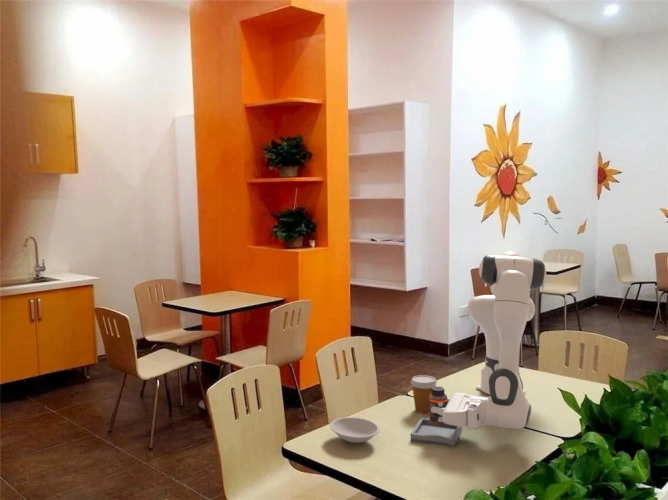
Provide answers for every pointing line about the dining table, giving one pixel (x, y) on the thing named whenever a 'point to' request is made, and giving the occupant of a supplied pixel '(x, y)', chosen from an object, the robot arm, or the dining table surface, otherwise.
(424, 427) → the tray
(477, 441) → the dining table surface
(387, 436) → the dining table surface
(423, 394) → the disposable coffee cup
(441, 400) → the supplement bottle
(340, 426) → the dish
